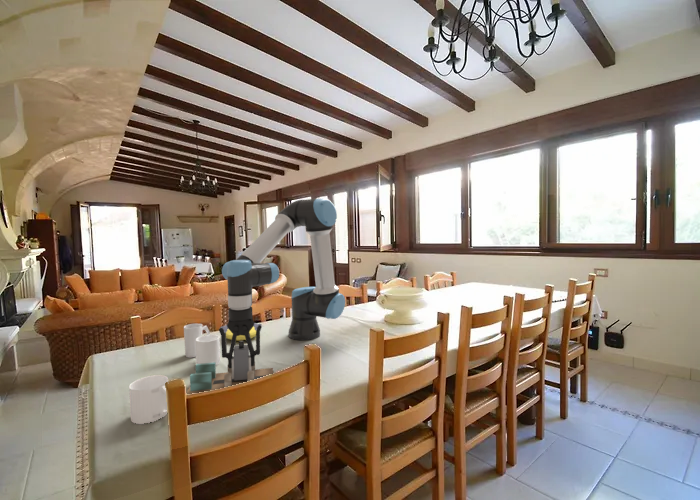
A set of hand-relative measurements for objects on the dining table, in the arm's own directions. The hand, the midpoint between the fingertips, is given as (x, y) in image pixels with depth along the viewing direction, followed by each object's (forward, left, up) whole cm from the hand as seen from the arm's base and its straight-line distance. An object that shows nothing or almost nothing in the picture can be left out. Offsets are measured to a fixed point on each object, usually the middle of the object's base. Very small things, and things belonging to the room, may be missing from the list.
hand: (241, 375), depth 109 cm
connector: (0, 0, 0) cm, 0 cm away
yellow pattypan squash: (+4, -47, -3) cm, 47 cm away
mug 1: (+22, +15, -3) cm, 27 cm away
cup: (+15, -20, -3) cm, 25 cm away
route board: (+3, 0, -2) cm, 4 cm away
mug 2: (+20, -31, -2) cm, 37 cm away
